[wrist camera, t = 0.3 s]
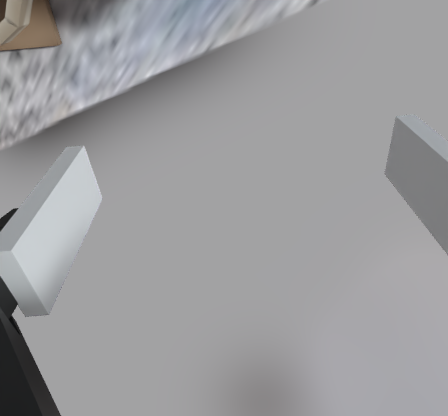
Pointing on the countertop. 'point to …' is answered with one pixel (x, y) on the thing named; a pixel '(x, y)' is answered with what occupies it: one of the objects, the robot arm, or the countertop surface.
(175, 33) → the countertop surface
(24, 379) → the robot arm
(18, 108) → the countertop surface
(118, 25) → the countertop surface
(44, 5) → the collar base
